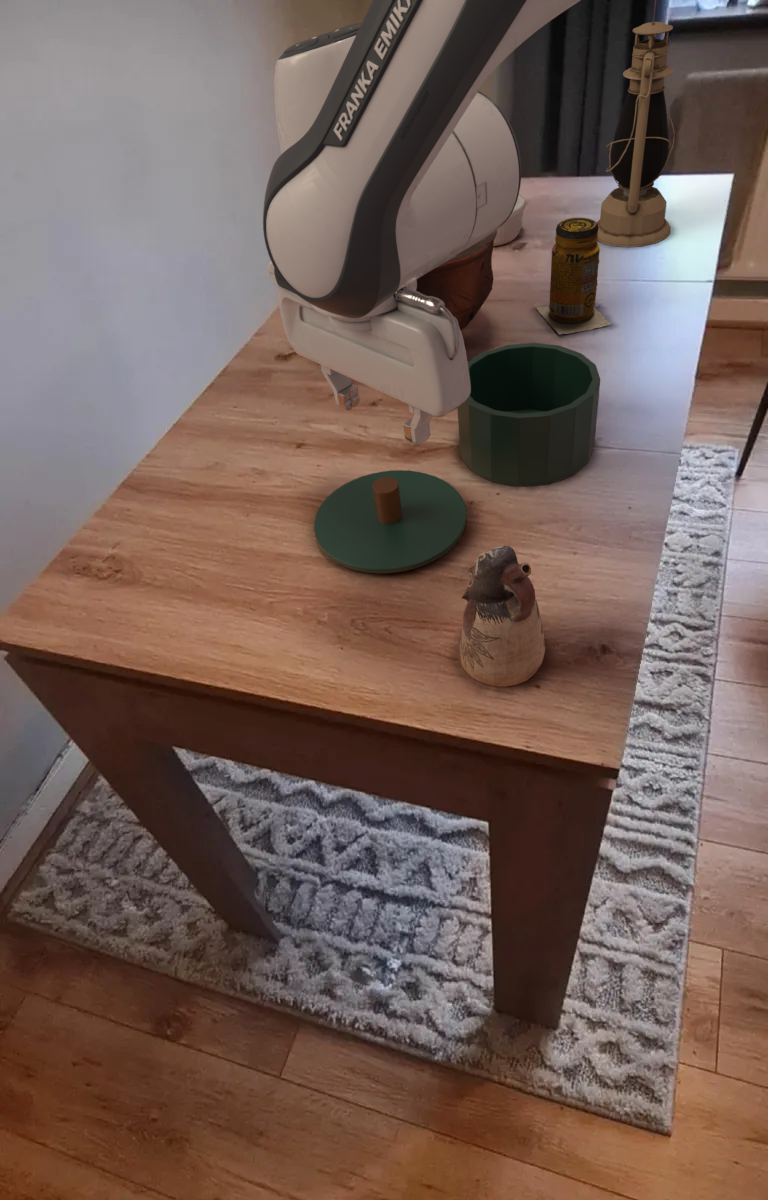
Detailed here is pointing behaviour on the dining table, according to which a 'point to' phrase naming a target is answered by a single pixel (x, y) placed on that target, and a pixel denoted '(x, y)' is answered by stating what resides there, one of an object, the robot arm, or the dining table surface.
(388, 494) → the lid
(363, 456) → the dining table surface
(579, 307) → the condiment
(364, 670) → the dining table surface
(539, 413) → the pot
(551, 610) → the dining table surface
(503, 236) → the ramekin
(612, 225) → the lantern
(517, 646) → the figurine
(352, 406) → the robot arm
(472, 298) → the bowl
